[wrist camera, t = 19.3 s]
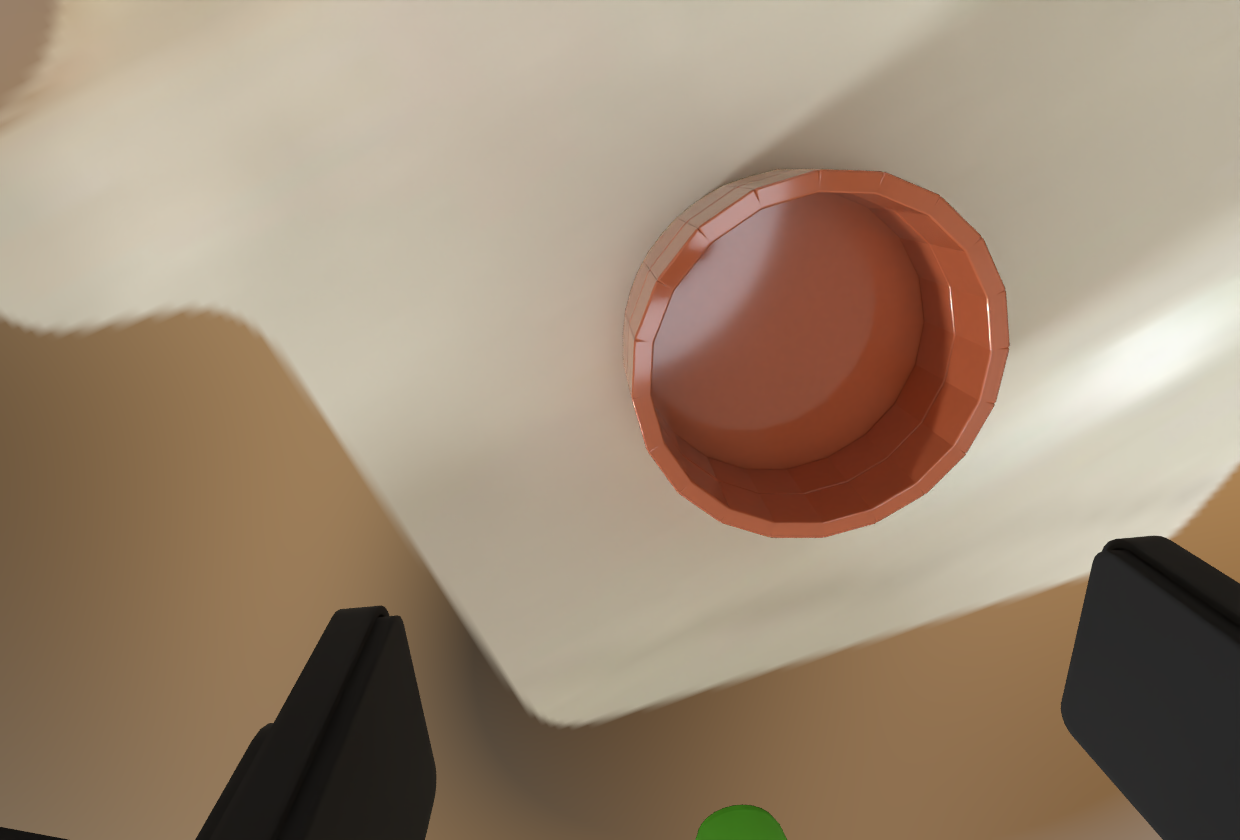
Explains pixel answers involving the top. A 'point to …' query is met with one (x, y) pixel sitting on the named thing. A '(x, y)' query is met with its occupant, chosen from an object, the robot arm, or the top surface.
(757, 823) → the cup
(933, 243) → the bowl
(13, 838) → the cake box
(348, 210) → the top surface
